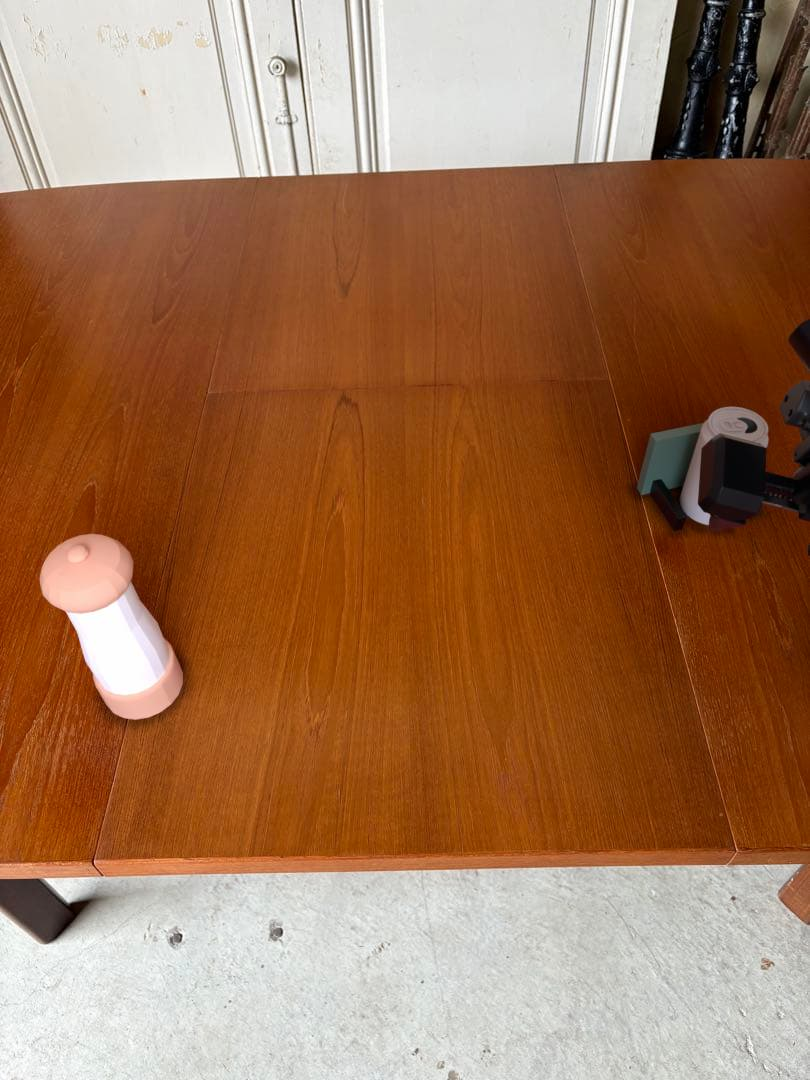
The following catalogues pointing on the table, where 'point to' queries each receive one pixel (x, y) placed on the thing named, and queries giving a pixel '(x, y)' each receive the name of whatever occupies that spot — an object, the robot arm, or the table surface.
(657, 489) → the rack bay
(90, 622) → the pepper shaker
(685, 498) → the beverage can
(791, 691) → the table surface
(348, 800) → the table surface
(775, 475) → the robot arm
